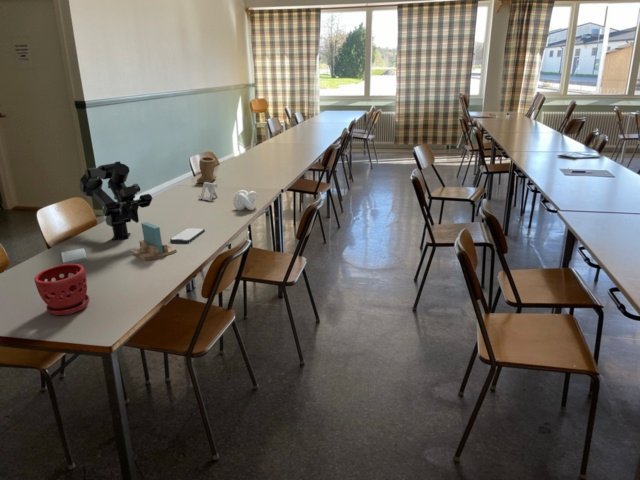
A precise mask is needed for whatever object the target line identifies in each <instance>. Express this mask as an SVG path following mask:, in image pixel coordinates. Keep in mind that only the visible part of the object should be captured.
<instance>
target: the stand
mask: <svg viewBox="0 0 640 480" xmlns="http://www.w3.org/2000/svg"><path fill="white" fill-rule="evenodd" d="M139 247H140V248H138V249H135V250H131V252H132V253H131V254H132V255H135V256H136V257H138V258H140V259H143V260H144V261H147V262H150V261H152V260H156V259H160V258H163V257H166V256H168V254H169V255H172V254H175V253H177V252H178V251H177V248H173V247H172V246H170V245H168V244H167V243H164V242H162V248H163V252H162V253H159V252H158V247H155V246H153V245H151V244H149V243H147V242H144V239H143V240H139ZM174 252H175V253H174ZM171 253H172V254H171ZM165 255H166V256H165ZM162 256H163V257H162ZM159 257H160V258H159Z"/></svg>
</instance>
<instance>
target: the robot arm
mask: <svg viewBox="0 0 640 480" xmlns="http://www.w3.org/2000/svg"><path fill="white" fill-rule="evenodd" d="M129 173H130V167H129V166H128V165H127V164H124V163H121V161H120V160H119V161H115V162H114V163H107V164H101V165H99V166H97V167H90V168H86V169H85V170H84V174H83V176H81V178H80V179H79V190H80V192H81V193H82V194H83V195H84V196H86V197H90V198H91V197H92V198H94V200H95V201H97V202H98V203H99V204H100V205H101V207H103V208H102V213H103V216H104V217H105V223H106V225H107V226H109V227H111V229H112V234H113V236H112V237H111V240H112V241H113V240H114V241H115V240H127V239H129V237H130V236H131V235H132V234H131V232H129V231H128V226H127V223H131V221H133V222H135V223H136V224H137V223H139V220H140V219H139V212H138V211H139V209H140V208H142V209H143V208H147V207H149V206H150V205H151V203H152V201H153V197H152V195H151V194H150V193H144V194H141V195H140V196H139V198H138V199H135V198H136V195H137V194H138V193H140V192H141V188H140V185H139V184H138V183H133V184H132V185H130V186H127V185H126V182H127V179H128V177H129ZM91 178H94V179H91ZM104 180H108V182H107V189H109V190H111V192H112V194H113V196H114V197H113V198H114V199H113V198H112V197H111V196H110V195H109V194H108V193H107V192H106V191H105V190H104V189H103V182H104ZM115 200H116V201H115Z"/></svg>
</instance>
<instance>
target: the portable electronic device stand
mask: <svg viewBox="0 0 640 480" xmlns="http://www.w3.org/2000/svg"><path fill="white" fill-rule="evenodd" d="M218 185H219V184H217V183H212V182H204V183H203V185H202V190H201V194H200V195H198V197H197V199H198V200H201V199H202V201H206V200H207V202H212V201H213V198H216V199H218V194H217V193H216V191H215V189H217V188H218ZM206 188H207V190H208V193H209V196H205V192H206ZM204 196H205V197H204Z"/></svg>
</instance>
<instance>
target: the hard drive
mask: <svg viewBox="0 0 640 480" xmlns="http://www.w3.org/2000/svg"><path fill="white" fill-rule="evenodd" d="M60 256H61V260H62V265H64V264H78V263H81V262H86V261H89V259H88V257H87V254H86V251H85V248H84V247H83V248H76V249H72V250H71V249H70V250H67V251H62V252H60Z"/></svg>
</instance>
